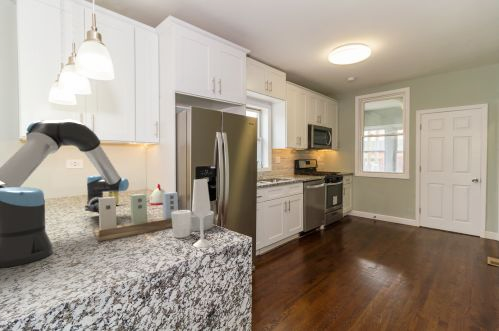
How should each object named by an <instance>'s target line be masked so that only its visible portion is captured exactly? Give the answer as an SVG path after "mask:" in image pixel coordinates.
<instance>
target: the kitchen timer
mask: <svg viewBox="0 0 499 331" xmlns="http://www.w3.org/2000/svg"><path fill="white" fill-rule="evenodd" d="M163 193H167V192H166V191H165V190H164V188H161V184H160V183H158V184H157V188H156V189H154V190H153V191H152V193H151V195H149V203H148V204H151V205H150V206H163Z"/></svg>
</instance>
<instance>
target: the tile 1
mask: <svg viewBox="0 0 499 331" xmlns="http://www.w3.org/2000/svg"><path fill="white" fill-rule="evenodd" d="M98 221H99V222H98V223H99V228H100V230H105V229H111V228H117V222H118V221H117V206H116V197H109V196H107V197H105V196H103V198H99V214H98Z"/></svg>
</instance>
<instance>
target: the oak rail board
mask: <svg viewBox="0 0 499 331" xmlns="http://www.w3.org/2000/svg"><path fill="white" fill-rule="evenodd" d="M169 228H173V227H172V218H170V219H164V220H163V217H159V218H152V219H147V222H146V223H140V224H135V225H132V222H130V223H122V224H118V225H117V228H111V229H105V230H100V227H98V228H94V229H93V232H92V233H93V235H94V237H95V238H97V239H96V240H97V242H102V241H107V240H113V239H117V238H123V237H128V236H132V235H138V234H142V233H147V232H148V233H149V232H153V231H158V230H164V229H169Z"/></svg>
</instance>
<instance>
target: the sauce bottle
mask: <svg viewBox="0 0 499 331" xmlns="http://www.w3.org/2000/svg"><path fill="white" fill-rule="evenodd" d="M108 197H116V205H117V204H118V205H119V203H120V202H119V192H108Z"/></svg>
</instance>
